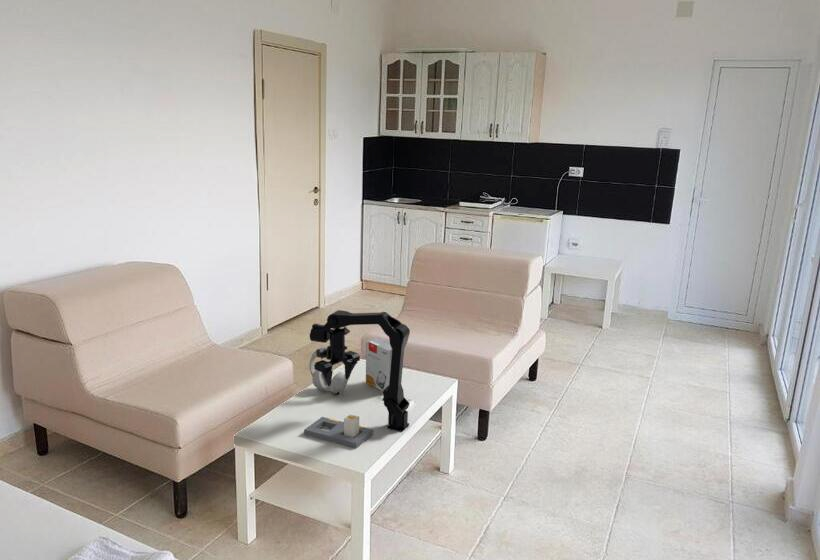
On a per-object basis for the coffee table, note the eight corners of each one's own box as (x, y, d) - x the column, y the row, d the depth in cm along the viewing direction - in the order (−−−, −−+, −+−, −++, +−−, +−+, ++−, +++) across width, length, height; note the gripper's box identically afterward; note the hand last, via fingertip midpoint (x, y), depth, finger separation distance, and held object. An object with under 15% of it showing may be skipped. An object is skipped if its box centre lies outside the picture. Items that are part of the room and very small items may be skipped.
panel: (372, 434, 236) (372, 428, 236) (356, 448, 226) (356, 442, 225) (322, 421, 246) (322, 416, 245) (304, 434, 235) (304, 428, 234)
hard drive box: (364, 383, 283) (365, 340, 278) (378, 379, 288) (379, 336, 283) (387, 394, 272) (388, 349, 267) (401, 390, 277) (402, 346, 272)
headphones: (305, 391, 273) (304, 346, 268) (315, 384, 280) (315, 341, 275) (344, 399, 265) (344, 354, 261) (354, 392, 273) (354, 348, 268)
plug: (359, 436, 234) (359, 415, 232) (353, 441, 231) (353, 419, 229) (349, 434, 236) (349, 412, 234) (343, 438, 232) (344, 417, 230)
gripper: (341, 333, 256) (341, 370, 259) (304, 345, 242) (305, 383, 246) (360, 339, 249) (361, 377, 252) (323, 351, 235) (324, 391, 239)
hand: (338, 382), depth 247 cm, fingers open, 9 cm apart
